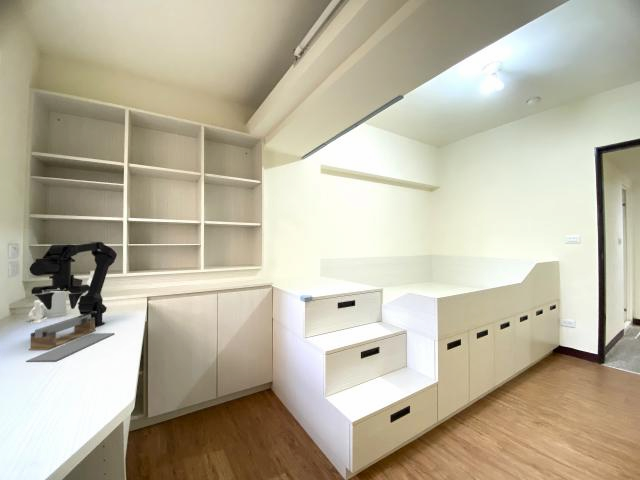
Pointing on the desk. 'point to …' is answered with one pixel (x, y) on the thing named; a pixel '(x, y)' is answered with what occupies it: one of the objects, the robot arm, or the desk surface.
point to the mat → (70, 348)
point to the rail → (62, 325)
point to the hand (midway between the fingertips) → (61, 309)
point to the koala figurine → (37, 312)
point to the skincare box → (57, 305)
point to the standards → (53, 342)
